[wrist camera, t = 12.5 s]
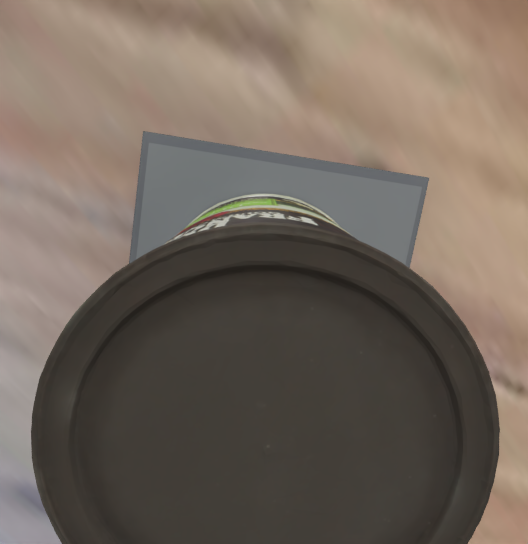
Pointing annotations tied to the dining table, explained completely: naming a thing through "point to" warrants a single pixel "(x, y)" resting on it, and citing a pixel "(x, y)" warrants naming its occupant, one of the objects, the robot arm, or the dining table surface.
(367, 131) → the dining table surface
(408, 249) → the pedestal
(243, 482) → the coffee can
